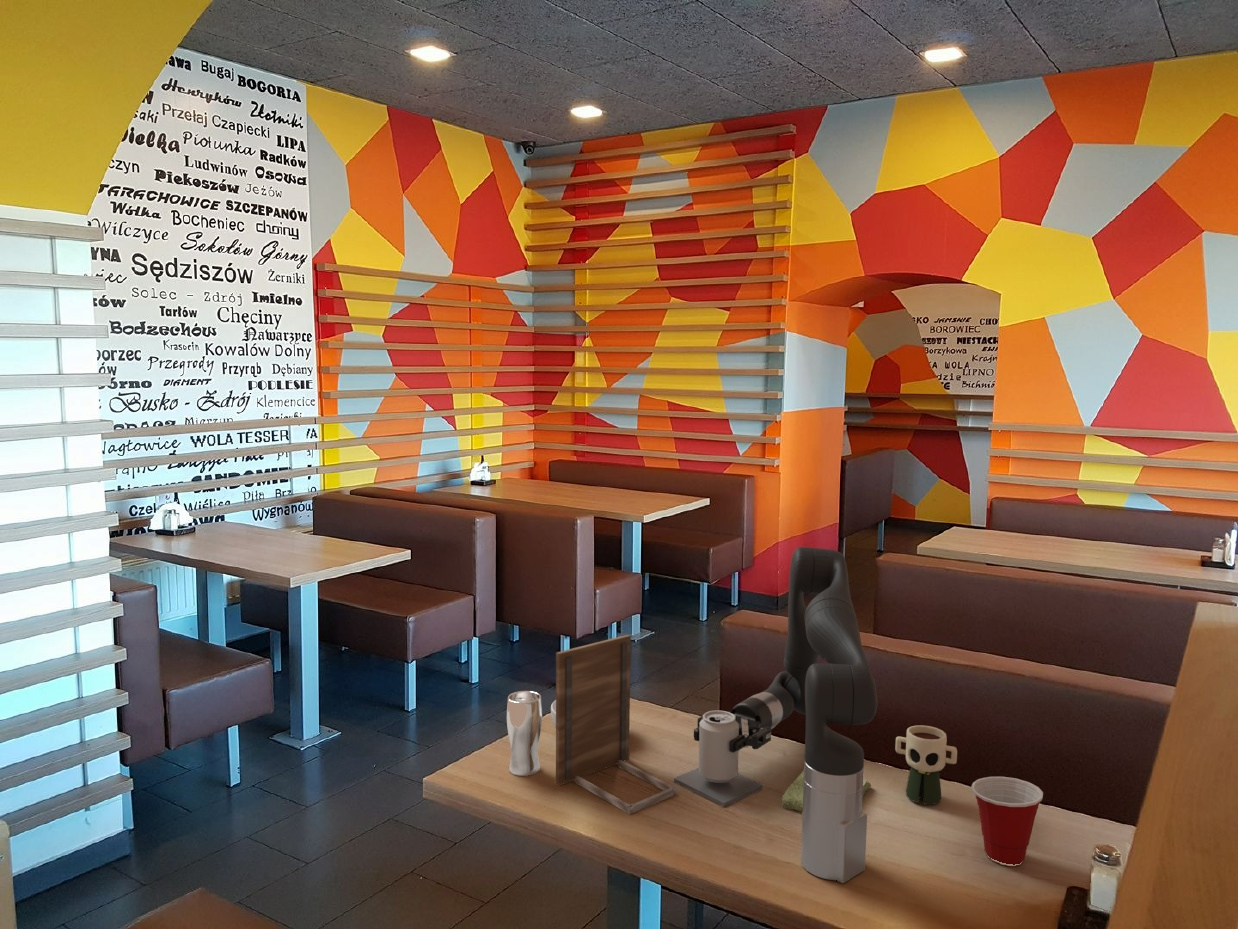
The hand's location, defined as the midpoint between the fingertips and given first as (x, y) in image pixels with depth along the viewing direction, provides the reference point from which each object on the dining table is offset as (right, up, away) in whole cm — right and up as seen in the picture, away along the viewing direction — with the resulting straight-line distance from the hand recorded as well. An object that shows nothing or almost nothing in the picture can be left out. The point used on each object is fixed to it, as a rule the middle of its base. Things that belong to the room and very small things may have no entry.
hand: (713, 741), depth 168 cm
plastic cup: (+46, -13, -21) cm, 52 cm away
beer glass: (-37, -8, +9) cm, 39 cm away
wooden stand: (-17, -9, +1) cm, 19 cm away
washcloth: (+21, -11, -1) cm, 23 cm away
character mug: (+39, -10, -2) cm, 41 cm away
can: (+1, -8, +3) cm, 8 cm away
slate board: (+1, -9, +3) cm, 10 cm away
